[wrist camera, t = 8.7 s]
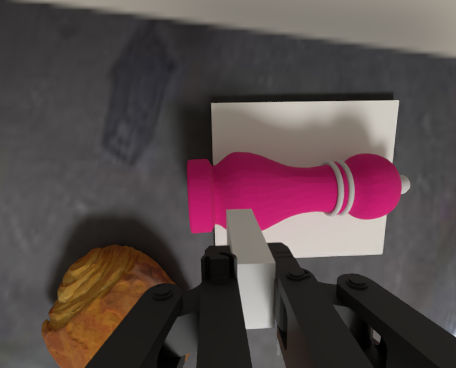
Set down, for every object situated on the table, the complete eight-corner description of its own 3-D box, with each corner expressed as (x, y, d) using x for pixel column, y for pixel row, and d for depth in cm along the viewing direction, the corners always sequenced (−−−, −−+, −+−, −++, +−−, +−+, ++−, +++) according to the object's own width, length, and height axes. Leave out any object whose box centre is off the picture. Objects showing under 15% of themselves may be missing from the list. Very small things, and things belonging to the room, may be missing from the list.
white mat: (215, 257, 31) (215, 261, 30) (211, 103, 27) (211, 103, 26) (378, 250, 32) (382, 254, 31) (393, 100, 28) (399, 100, 27)
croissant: (153, 215, 32) (129, 233, 24) (217, 333, 33) (214, 388, 25) (40, 273, 32) (-22, 310, 24) (107, 388, 33) (70, 459, 25)
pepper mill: (192, 223, 28) (380, 211, 30) (190, 253, 21) (436, 234, 23) (188, 151, 27) (384, 143, 29) (185, 157, 20) (445, 146, 22)
